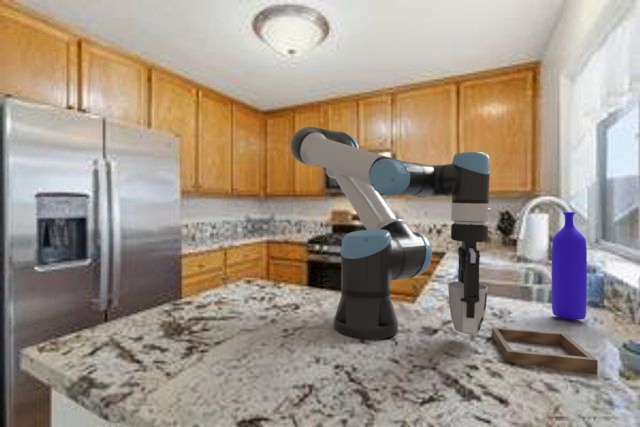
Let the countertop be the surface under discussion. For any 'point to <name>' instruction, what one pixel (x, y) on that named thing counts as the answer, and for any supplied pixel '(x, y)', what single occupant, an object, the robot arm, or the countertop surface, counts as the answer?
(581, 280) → the bottle
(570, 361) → the tray
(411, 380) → the countertop surface
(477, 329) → the cup
